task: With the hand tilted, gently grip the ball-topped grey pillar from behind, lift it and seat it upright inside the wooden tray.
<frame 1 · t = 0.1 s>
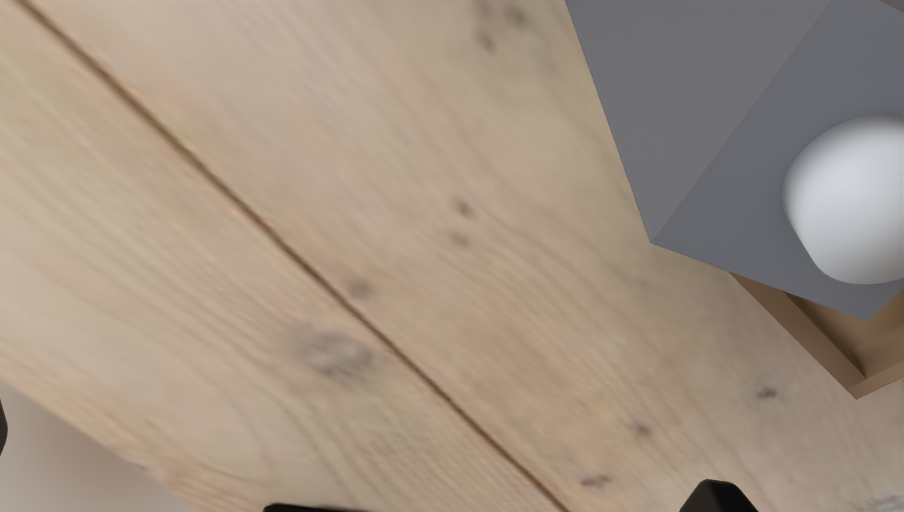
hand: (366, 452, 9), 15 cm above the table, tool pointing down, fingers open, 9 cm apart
wooden tray: (900, 195, 24), on the table
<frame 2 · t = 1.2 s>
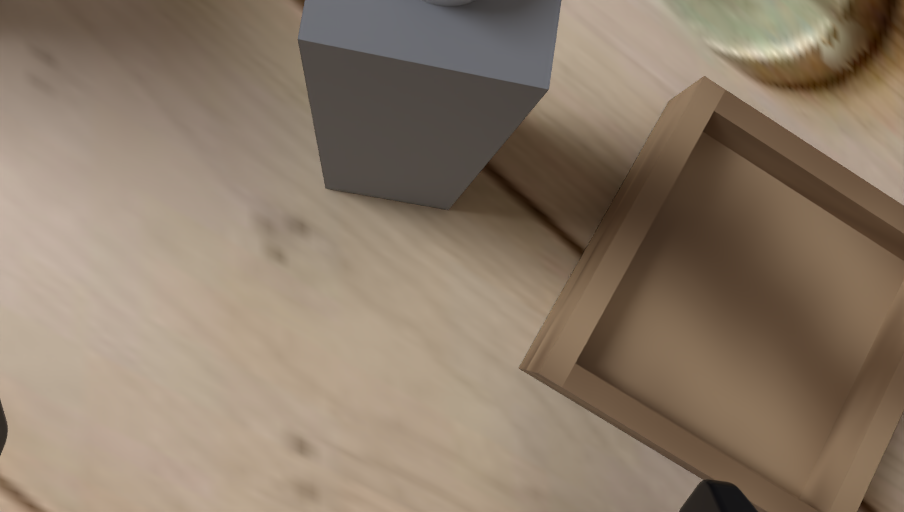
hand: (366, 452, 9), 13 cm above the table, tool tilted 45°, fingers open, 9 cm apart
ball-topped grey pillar: (397, 139, 23), on the table
wooden tray: (726, 311, 24), on the table
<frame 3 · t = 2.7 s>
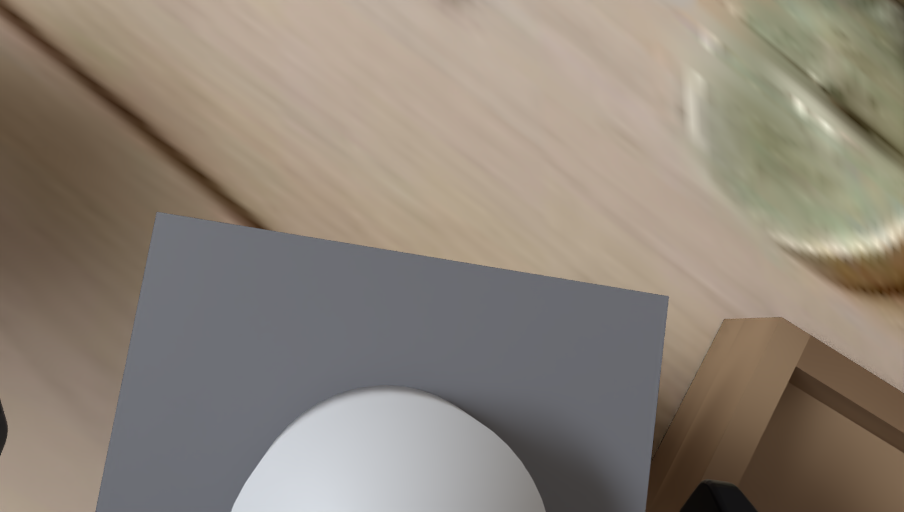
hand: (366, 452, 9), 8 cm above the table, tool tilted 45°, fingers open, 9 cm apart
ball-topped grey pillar: (359, 391, 17), on the table
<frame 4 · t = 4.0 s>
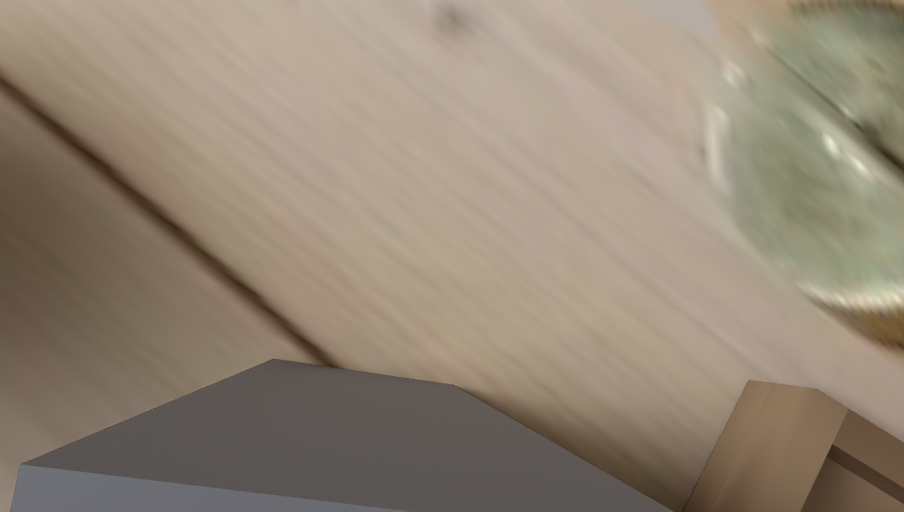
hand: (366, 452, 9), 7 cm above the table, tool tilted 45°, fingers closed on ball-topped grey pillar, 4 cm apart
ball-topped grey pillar: (349, 464, 15), on the table, touching gripper
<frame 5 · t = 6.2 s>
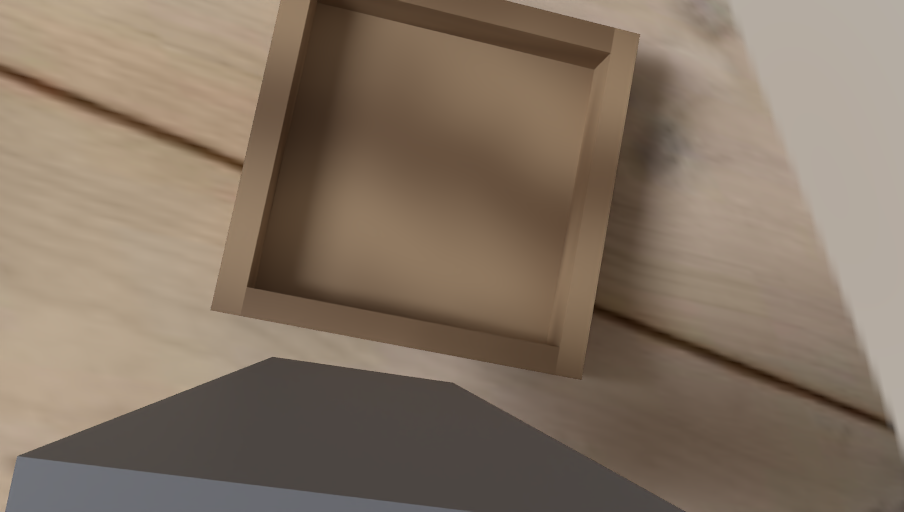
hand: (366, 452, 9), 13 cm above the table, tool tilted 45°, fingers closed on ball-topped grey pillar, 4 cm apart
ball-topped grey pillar: (349, 462, 15), point 7 cm above the table, touching gripper
wooden tray: (428, 180, 23), on the table
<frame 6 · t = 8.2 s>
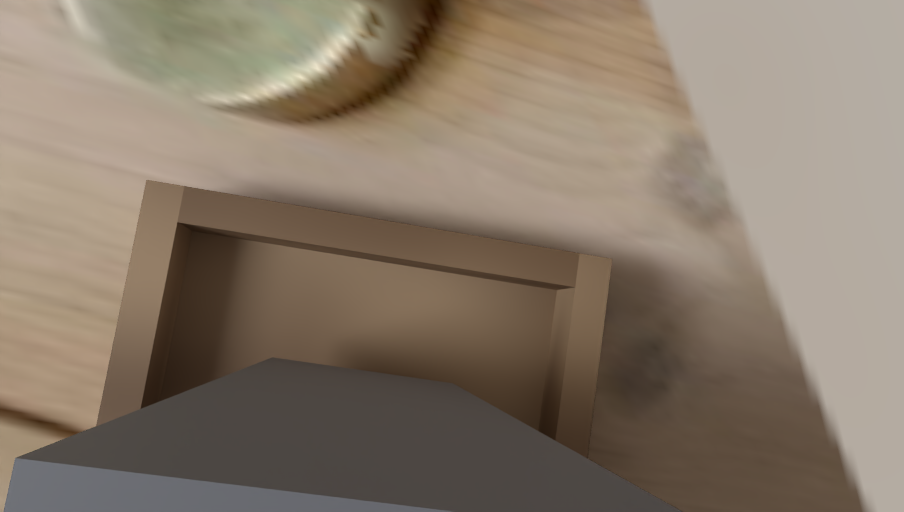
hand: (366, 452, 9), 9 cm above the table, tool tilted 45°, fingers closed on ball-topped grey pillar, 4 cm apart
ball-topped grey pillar: (349, 462, 15), point 3 cm above the table, touching gripper
wooden tray: (350, 440, 18), on the table
when the fingers open (9 cm above the table, at t = 8.4 s): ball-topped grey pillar drops 1 cm, resting on wooden tray.
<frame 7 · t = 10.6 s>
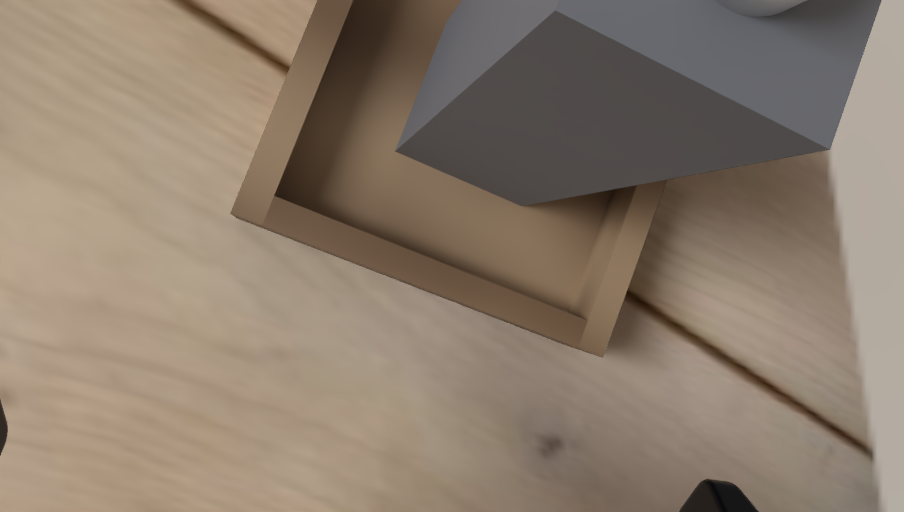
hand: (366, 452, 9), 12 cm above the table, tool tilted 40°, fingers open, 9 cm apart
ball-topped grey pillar: (484, 115, 20), point 1 cm above the table, touching wooden tray
wooden tray: (474, 120, 21), on the table
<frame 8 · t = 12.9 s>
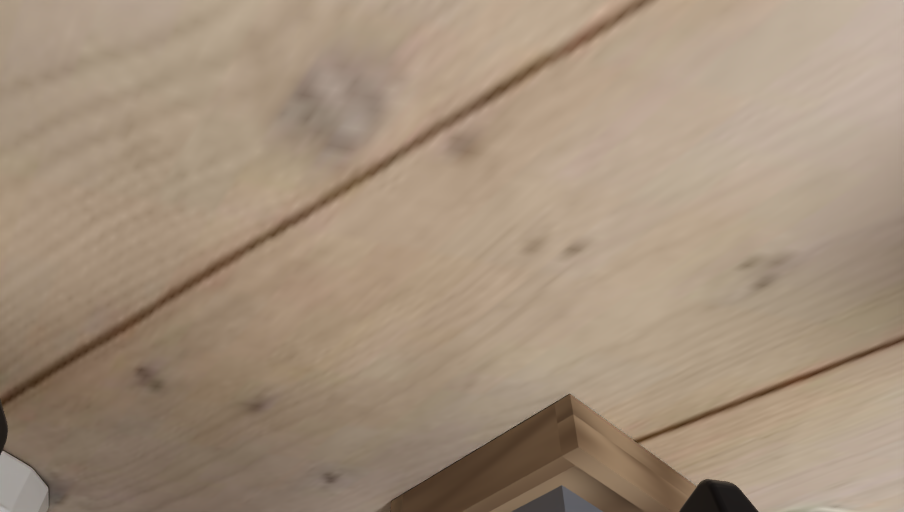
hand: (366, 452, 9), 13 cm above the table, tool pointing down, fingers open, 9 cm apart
wooden tray: (554, 501, 33), on the table
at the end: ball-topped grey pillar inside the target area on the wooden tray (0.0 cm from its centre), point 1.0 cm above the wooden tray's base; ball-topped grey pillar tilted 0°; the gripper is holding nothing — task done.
